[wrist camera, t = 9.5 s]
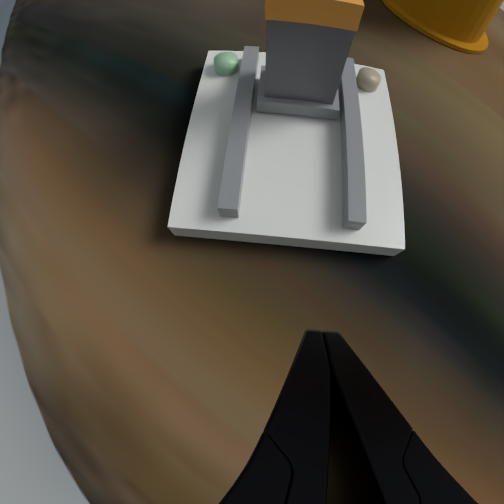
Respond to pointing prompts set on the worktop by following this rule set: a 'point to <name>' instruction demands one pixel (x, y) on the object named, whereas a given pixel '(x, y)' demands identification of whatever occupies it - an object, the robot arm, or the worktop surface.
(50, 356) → the worktop surface
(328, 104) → the breaker handle
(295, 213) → the white rail base plate
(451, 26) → the spool
